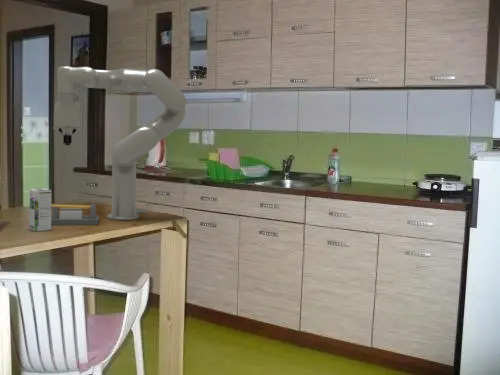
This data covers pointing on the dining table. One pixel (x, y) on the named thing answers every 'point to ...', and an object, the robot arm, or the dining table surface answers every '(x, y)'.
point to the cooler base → (74, 217)
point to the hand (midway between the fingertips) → (67, 145)
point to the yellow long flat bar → (72, 206)
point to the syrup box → (40, 209)
